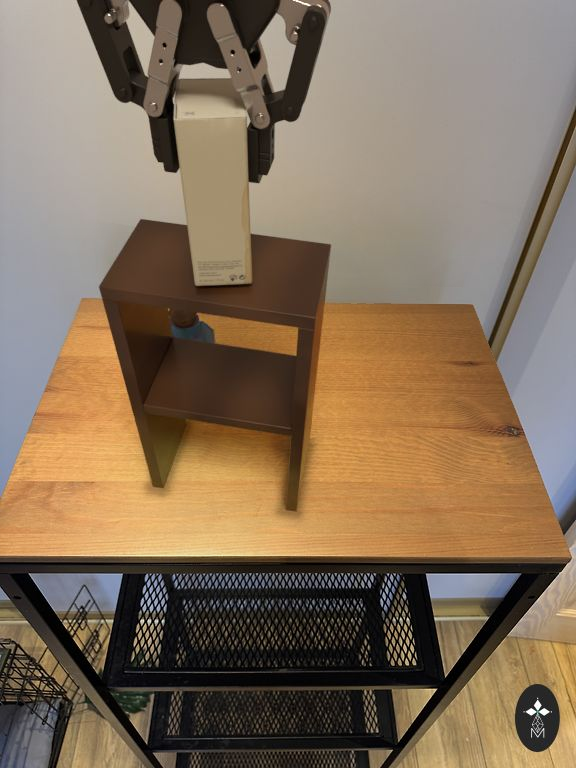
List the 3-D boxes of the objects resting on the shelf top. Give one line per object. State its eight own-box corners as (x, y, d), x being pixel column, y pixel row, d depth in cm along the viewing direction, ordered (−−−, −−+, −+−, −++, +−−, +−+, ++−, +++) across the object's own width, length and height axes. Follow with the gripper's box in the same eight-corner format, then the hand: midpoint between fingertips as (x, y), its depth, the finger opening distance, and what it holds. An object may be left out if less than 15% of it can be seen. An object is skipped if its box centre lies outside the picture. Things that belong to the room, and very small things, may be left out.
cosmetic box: (253, 286, 42) (250, 119, 33) (191, 288, 41) (171, 119, 32) (249, 236, 46) (246, 75, 37) (193, 237, 46) (176, 75, 36)
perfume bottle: (168, 365, 75) (156, 294, 65) (216, 363, 75) (210, 292, 66) (166, 402, 70) (152, 332, 61) (217, 400, 71) (210, 330, 62)
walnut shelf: (309, 444, 67) (331, 243, 46) (296, 512, 61) (315, 318, 40) (177, 422, 69) (140, 218, 47) (152, 486, 63) (98, 286, 42)
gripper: (-3, -189, 24) (91, 188, 36) (342, -167, 22) (313, 216, 35) (73, -202, 28) (132, 134, 41) (360, -184, 27) (329, 157, 40)
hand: (215, 170), depth 38 cm, fingers closed on cosmetic box, 5 cm apart
